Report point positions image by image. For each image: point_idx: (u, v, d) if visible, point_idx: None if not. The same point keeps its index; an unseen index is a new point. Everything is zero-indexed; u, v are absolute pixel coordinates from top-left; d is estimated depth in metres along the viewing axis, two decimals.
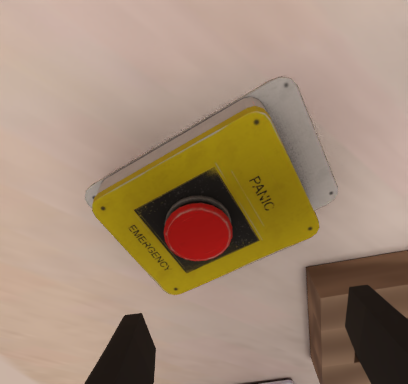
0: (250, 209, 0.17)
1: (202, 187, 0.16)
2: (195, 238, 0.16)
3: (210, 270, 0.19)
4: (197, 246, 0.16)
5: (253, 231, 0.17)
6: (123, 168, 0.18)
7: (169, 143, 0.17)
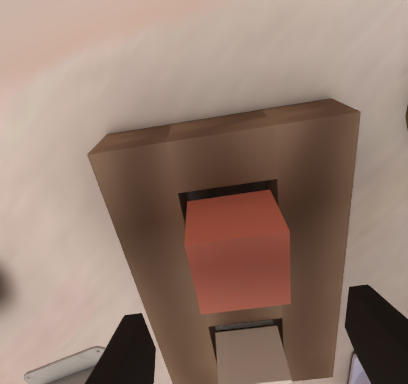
0: None
1: None
2: None
3: None
4: None
5: None
6: None
7: None
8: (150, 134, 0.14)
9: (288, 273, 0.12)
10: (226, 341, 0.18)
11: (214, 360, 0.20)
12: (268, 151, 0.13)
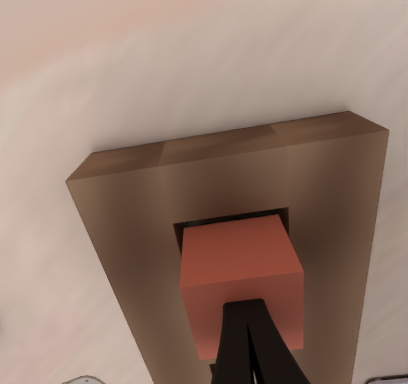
0: None
1: None
2: None
3: None
4: None
5: None
6: None
7: None
8: (140, 154, 0.12)
9: (301, 316, 0.10)
10: None
11: None
12: (278, 176, 0.11)
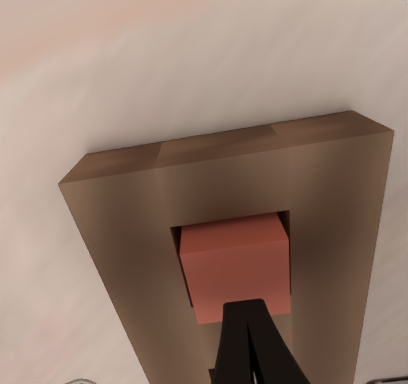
0: None
1: None
2: None
3: None
4: None
5: None
6: None
7: None
8: (136, 155, 0.12)
9: (287, 282, 0.11)
10: None
11: None
12: (279, 178, 0.10)
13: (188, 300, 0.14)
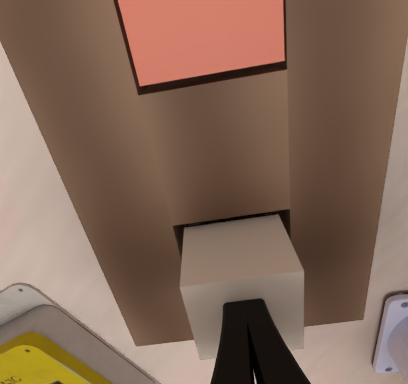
0: None
1: None
2: None
3: None
4: None
5: None
6: None
7: None
8: None
9: None
10: (199, 235, 0.11)
11: None
12: None
13: (132, 79, 0.09)
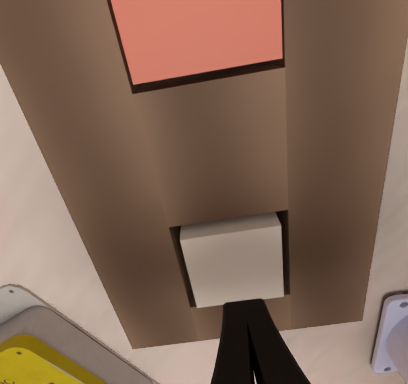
0: None
1: None
2: None
3: None
4: None
5: None
6: None
7: None
8: None
9: None
10: None
11: (183, 292, 0.13)
12: None
13: (126, 78, 0.09)
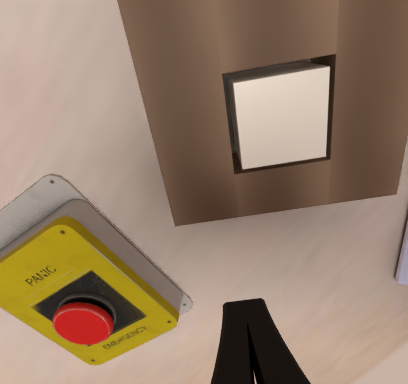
0: (59, 281, 0.18)
1: (51, 312, 0.20)
2: (85, 329, 0.19)
3: (139, 300, 0.19)
4: (92, 328, 0.19)
5: (82, 275, 0.18)
6: None
7: None
8: None
9: None
10: (240, 73, 0.14)
11: (229, 154, 0.14)
12: None
13: None
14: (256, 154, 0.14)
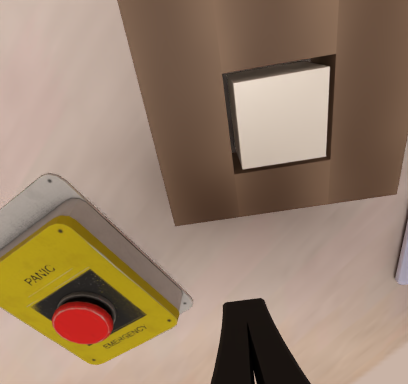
0: (58, 280, 0.18)
1: (51, 311, 0.20)
2: (84, 328, 0.19)
3: (138, 299, 0.19)
4: (91, 327, 0.18)
5: (81, 274, 0.18)
6: None
7: None
8: None
9: None
10: (240, 73, 0.14)
11: (229, 154, 0.14)
12: None
13: None
14: (256, 154, 0.14)
